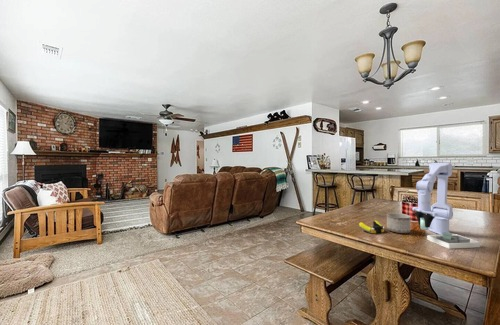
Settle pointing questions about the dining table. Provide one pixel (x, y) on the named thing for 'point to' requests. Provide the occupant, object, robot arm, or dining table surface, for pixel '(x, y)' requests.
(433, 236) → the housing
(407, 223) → the planter
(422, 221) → the jaw peg
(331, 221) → the dining table surface
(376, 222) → the spring clamp
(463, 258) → the dining table surface
